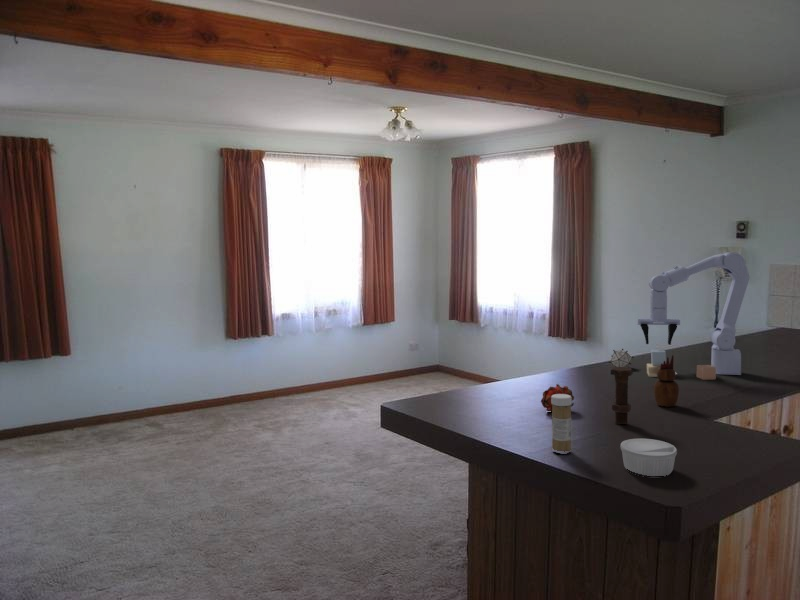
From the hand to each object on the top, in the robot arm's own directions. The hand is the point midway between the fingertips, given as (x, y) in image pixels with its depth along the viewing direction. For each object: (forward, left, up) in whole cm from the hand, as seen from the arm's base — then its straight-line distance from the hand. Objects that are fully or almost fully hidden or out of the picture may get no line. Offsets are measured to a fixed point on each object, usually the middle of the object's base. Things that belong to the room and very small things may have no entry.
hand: (658, 344), depth 233 cm
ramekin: (+15, +109, -11) cm, 111 cm away
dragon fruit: (+35, +65, -11) cm, 75 cm away
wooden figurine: (+4, +52, -11) cm, 53 cm away
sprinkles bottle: (+33, +101, -11) cm, 107 cm away
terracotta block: (-14, +13, -10) cm, 22 cm away
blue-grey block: (+1, +9, -6) cm, 11 cm away
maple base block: (+1, +10, -10) cm, 14 cm away
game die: (+13, -1, -11) cm, 17 cm away
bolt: (+18, +74, -11) cm, 77 cm away
